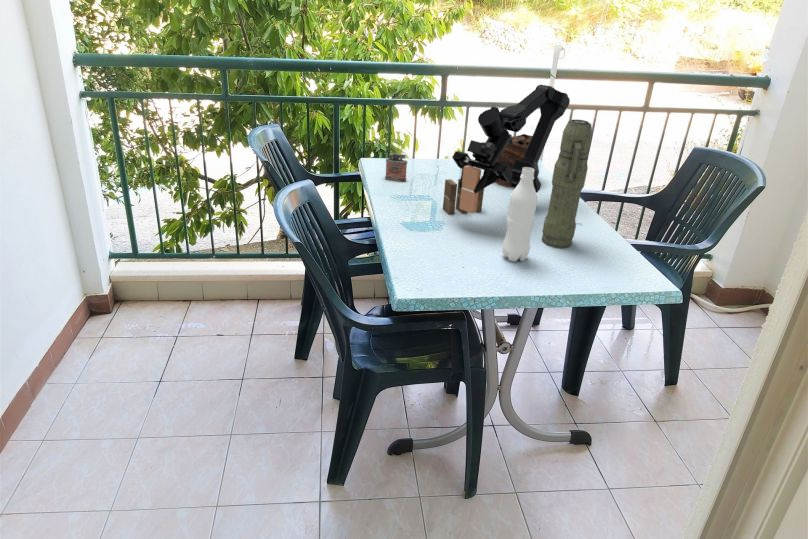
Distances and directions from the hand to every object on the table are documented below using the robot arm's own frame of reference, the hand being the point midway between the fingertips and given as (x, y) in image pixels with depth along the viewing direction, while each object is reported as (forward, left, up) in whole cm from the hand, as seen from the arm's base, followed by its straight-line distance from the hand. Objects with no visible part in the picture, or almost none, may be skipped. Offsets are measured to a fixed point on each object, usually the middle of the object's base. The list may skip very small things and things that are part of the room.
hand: (467, 190), depth 163 cm
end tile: (-1, -1, -7) cm, 7 cm away
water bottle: (-18, +12, -13) cm, 25 cm away
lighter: (+36, -34, -13) cm, 51 cm away
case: (-3, -55, -13) cm, 57 cm away
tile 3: (+9, -13, -13) cm, 20 cm away
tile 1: (+1, -19, -13) cm, 23 cm away
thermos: (-27, -5, -13) cm, 30 cm away
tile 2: (+5, -16, -13) cm, 21 cm away
